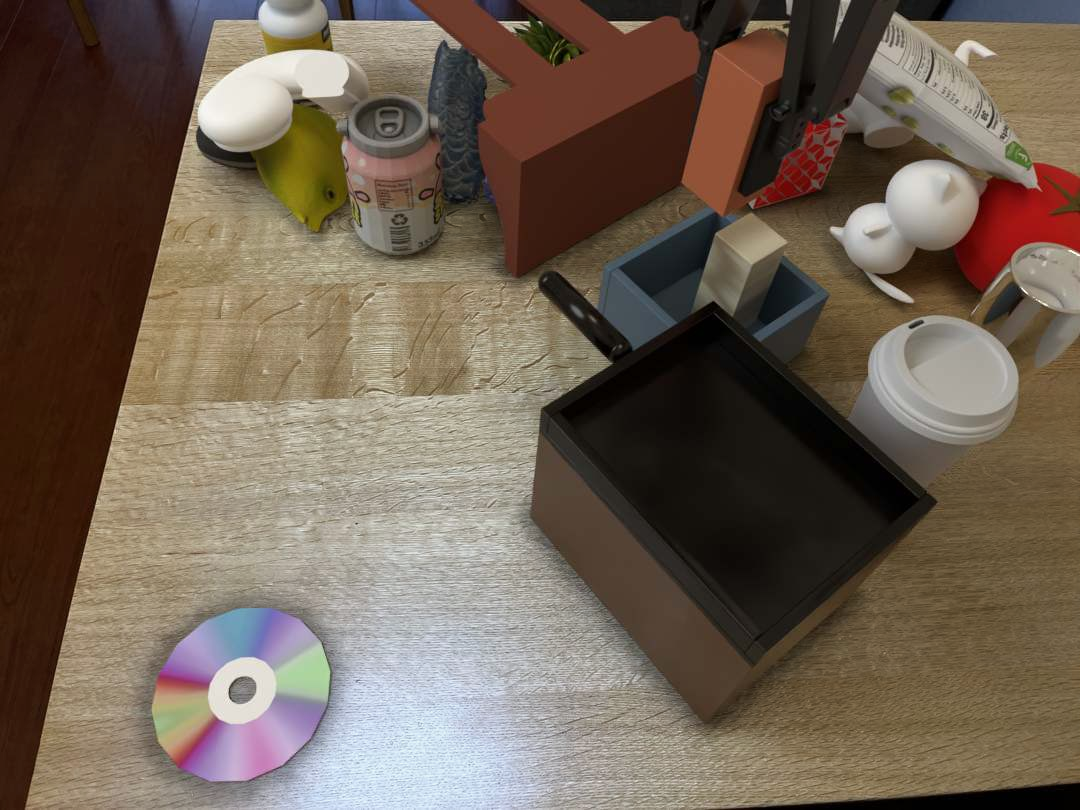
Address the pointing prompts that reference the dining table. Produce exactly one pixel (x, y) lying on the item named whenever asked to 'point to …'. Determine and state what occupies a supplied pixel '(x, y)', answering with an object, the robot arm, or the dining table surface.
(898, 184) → the cat figurine
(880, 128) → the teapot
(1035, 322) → the metal tumbler
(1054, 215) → the tomato
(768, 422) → the pan
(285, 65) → the sculpture
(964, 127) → the frozen beans
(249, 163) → the computer mouse
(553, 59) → the potted plant
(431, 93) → the fish model
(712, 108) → the terracotta block
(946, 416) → the coffee cup
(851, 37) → the robot arm
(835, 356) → the dining table surface
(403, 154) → the beverage can
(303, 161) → the fish
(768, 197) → the red white patterned box
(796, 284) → the bin
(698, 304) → the cream block
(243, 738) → the cd
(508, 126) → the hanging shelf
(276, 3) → the pill bottle
